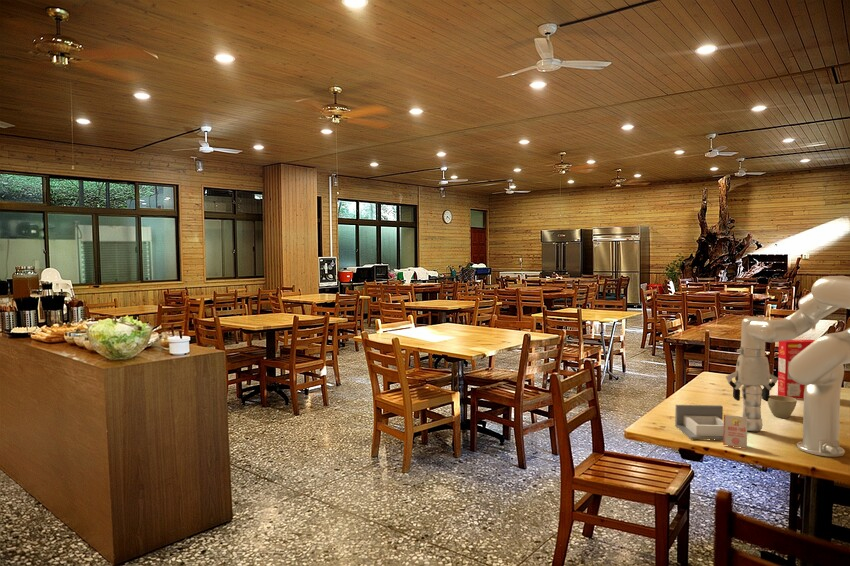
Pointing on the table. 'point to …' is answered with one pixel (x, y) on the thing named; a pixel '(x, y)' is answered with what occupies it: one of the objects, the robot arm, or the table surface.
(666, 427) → the table surface
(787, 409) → the flower pot
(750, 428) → the plastic bottle
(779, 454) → the table surface
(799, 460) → the table surface
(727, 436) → the beige printed carton
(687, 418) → the housing
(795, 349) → the food packaging
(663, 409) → the table surface
